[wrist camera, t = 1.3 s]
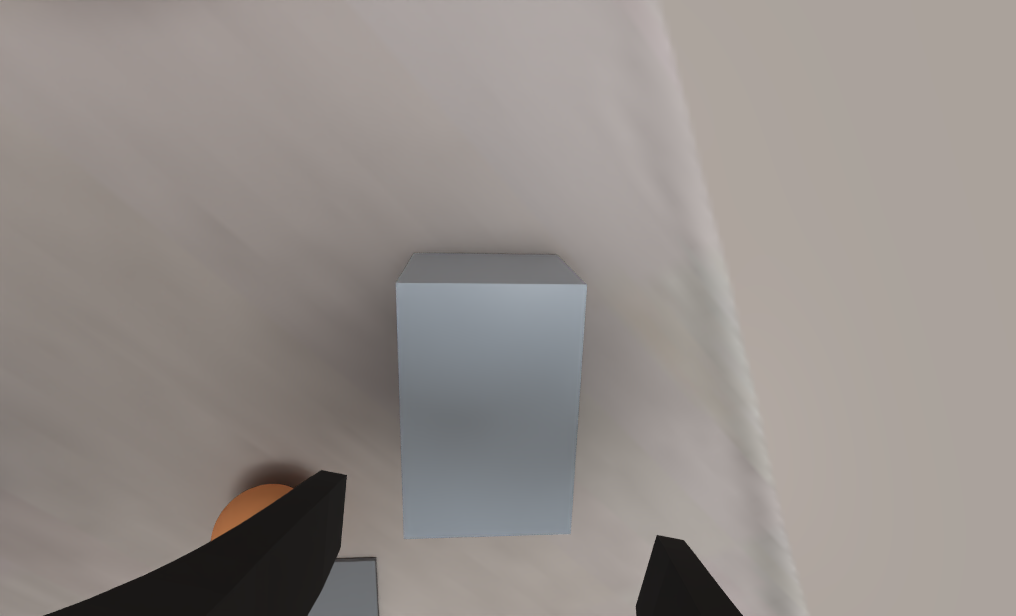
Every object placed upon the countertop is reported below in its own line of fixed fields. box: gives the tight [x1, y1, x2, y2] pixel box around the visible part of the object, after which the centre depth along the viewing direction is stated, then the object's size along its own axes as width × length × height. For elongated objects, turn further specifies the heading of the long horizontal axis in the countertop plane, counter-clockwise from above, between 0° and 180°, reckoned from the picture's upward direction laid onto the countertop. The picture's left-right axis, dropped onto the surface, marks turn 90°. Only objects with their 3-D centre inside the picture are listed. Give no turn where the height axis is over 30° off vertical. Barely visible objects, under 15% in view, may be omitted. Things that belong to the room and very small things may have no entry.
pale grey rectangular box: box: [396, 253, 587, 539], centre depth 20 cm, size 6×9×6 cm, turn 179°
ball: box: [211, 484, 294, 541], centre depth 22 cm, size 4×4×4 cm
